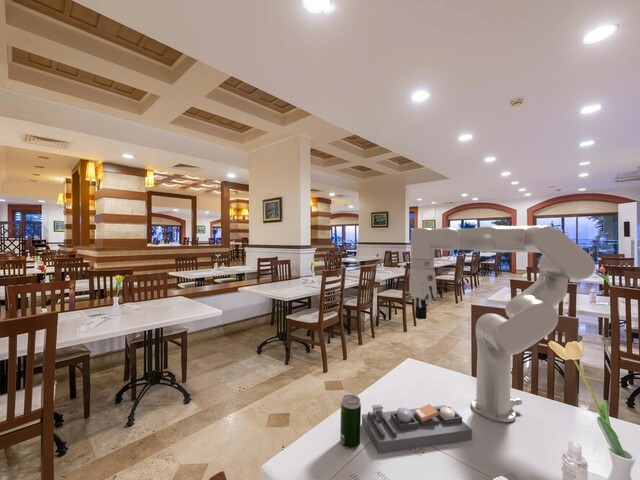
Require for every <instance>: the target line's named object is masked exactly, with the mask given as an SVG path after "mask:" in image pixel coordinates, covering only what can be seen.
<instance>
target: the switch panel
mask: <svg viewBox="0 0 640 480" xmlns="http://www.w3.org/2000/svg"><path fill="white" fill-rule="evenodd" d="M432 407H433V408H434V409H435V410H436V411H437V412H438V415H437V416H435V417H433V418H430V419H428V420H426V421H424V422H422V421H421V420H420V419H419V418H418V416H417V415H416V414H415V412H414V410H416V409H419V408H420V407H419V408H410V409H409V408H408V409H409V410H410V411H411V412H412V421H411V422H410V423H403V422H400V421H399V420H398V419H397V410H393V411H392V410H391V411H384V412H383V411H382V421H376V420H375V418H374V417H373V415H372V412H371V411H369V412H368V411H367V413H364V414H361V425H362V427H363V429H364V431H365V433H366V435H367V436H368V438H369V440H370V442H371V443H372V445H373V448H375V451H376V452H377V454H378V455H379V454H387V453H393V452H401V451H406V450H407V451H408V450H415V449H421V448H429V447H436V446H441V445H442V446H443V445H449V444H455V443H462V442H469V441H470V442H471V441H472V440H473V429H472V428H471V427H470V426H469V425H468V424H467V423H466V422H464V421H463V417H462V416H461V415H460V414H459V413H458V412H456V411H455V417H453V418H445V417H444V416H442V415H441V414H440V408H442V407H448V408H451V409H452V410H454V409H453V408H452V407H451V406H446V405H435V406H432Z"/></svg>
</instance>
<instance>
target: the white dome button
mask: <svg viewBox="0 0 640 480" xmlns="http://www.w3.org/2000/svg"><path fill="white" fill-rule="evenodd" d="M448 407H449V406H446V407H442V408H440V414H441V415H442V416H444V417H445V418H453V417H455V412H456V410H455V409H453V408H452V407H451V408H452V409H453V410H452V409H451V408H448Z"/></svg>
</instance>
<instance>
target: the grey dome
mask: <svg viewBox="0 0 640 480" xmlns="http://www.w3.org/2000/svg"><path fill="white" fill-rule="evenodd" d="M396 411H397V419H398V420H399V421H400V422H403V423H410V422H411V421H412V412H411V411H410V410H409V408H407V407H399V408H398V409H397V410H396Z"/></svg>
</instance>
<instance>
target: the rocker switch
mask: <svg viewBox="0 0 640 480" xmlns="http://www.w3.org/2000/svg"><path fill="white" fill-rule="evenodd" d="M433 407H434V406H432V405H431V404H430V403H429V404H428V403H427V404H426V405H423V406H422V407H421V406H420V407H419V409H416V408H415V409H416V410H414V412H415V414H416V415H417V416H418V418H419V419H420V420H421V421H422V422H424V421H426V420H428V419H430V418H433V417H435V416H437V415H438V412H437V411H436V410H435V409H434V408H433Z"/></svg>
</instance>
